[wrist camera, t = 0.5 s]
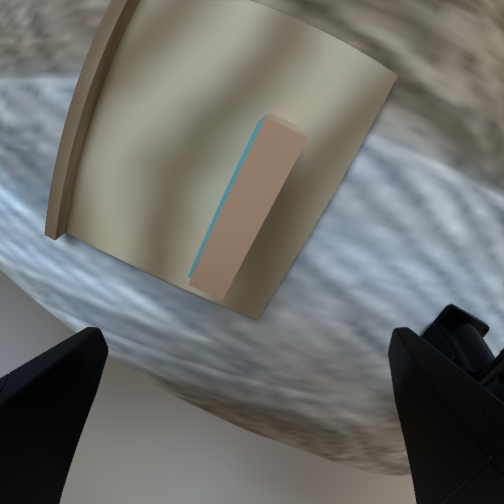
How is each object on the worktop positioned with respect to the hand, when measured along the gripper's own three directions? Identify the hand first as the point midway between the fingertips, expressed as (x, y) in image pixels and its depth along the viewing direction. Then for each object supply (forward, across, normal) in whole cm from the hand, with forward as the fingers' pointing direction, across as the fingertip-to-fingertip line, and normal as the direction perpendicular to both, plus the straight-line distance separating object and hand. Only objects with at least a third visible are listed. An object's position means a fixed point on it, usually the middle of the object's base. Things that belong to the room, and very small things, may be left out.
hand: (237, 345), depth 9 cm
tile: (+11, 0, -3) cm, 11 cm away
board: (+12, +3, -4) cm, 13 cm away
